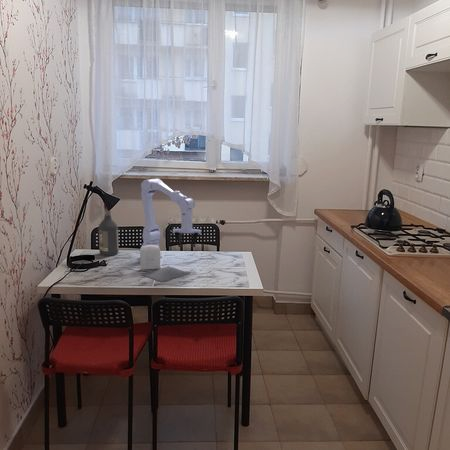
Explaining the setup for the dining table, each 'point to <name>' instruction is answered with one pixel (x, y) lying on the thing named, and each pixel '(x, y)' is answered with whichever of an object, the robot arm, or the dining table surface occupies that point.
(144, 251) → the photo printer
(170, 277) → the mat
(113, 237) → the liquor
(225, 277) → the dining table surface
